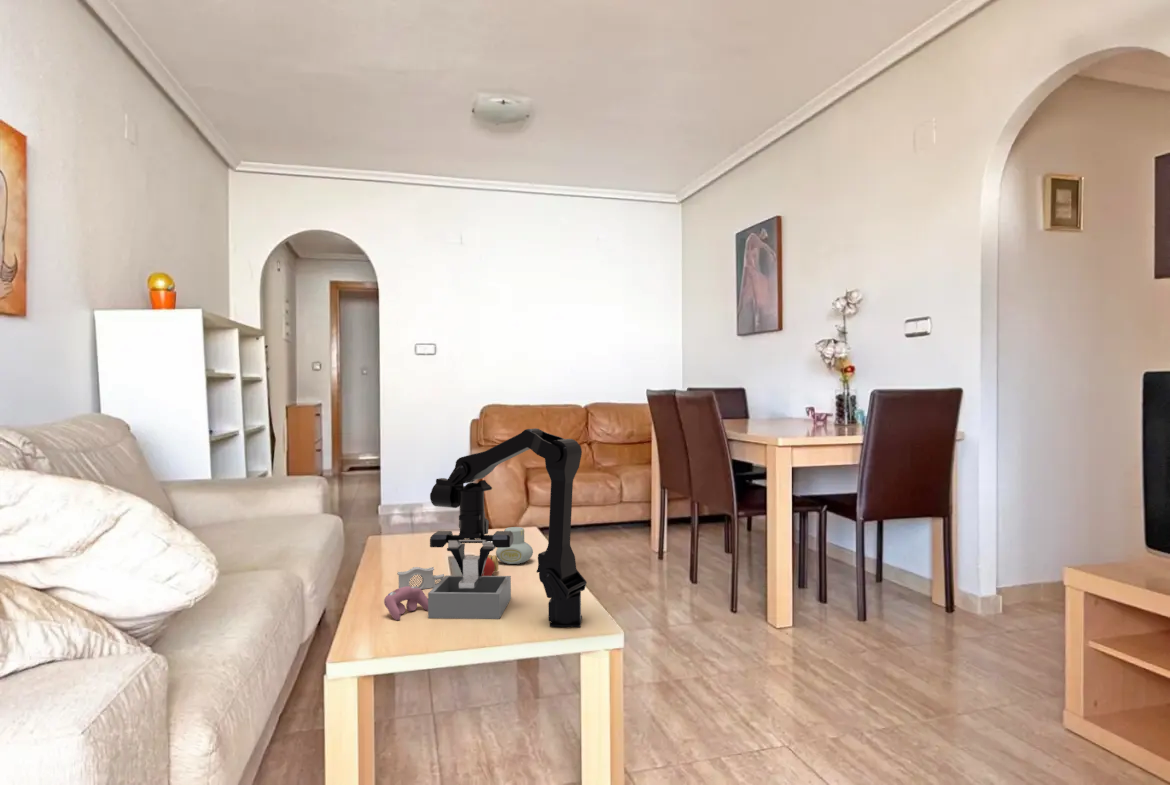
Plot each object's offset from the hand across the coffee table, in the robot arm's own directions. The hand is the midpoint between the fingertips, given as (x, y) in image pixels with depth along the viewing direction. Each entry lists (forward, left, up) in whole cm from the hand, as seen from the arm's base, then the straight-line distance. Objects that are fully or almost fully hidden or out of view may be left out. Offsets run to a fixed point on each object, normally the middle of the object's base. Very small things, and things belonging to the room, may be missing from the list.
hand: (472, 575), depth 158 cm
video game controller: (+14, +5, -8) cm, 17 cm away
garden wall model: (+17, -14, -8) cm, 23 cm away
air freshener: (-3, -43, -8) cm, 43 cm away
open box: (0, +1, -7) cm, 7 cm away
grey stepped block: (0, +2, -1) cm, 2 cm away
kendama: (+3, -31, -8) cm, 32 cm away
